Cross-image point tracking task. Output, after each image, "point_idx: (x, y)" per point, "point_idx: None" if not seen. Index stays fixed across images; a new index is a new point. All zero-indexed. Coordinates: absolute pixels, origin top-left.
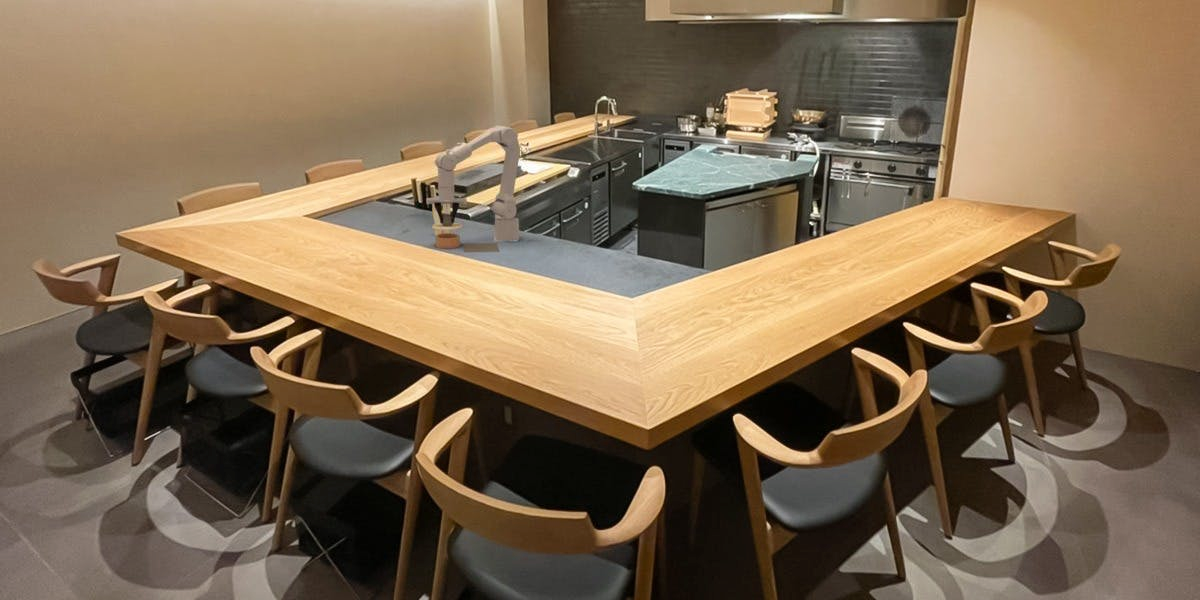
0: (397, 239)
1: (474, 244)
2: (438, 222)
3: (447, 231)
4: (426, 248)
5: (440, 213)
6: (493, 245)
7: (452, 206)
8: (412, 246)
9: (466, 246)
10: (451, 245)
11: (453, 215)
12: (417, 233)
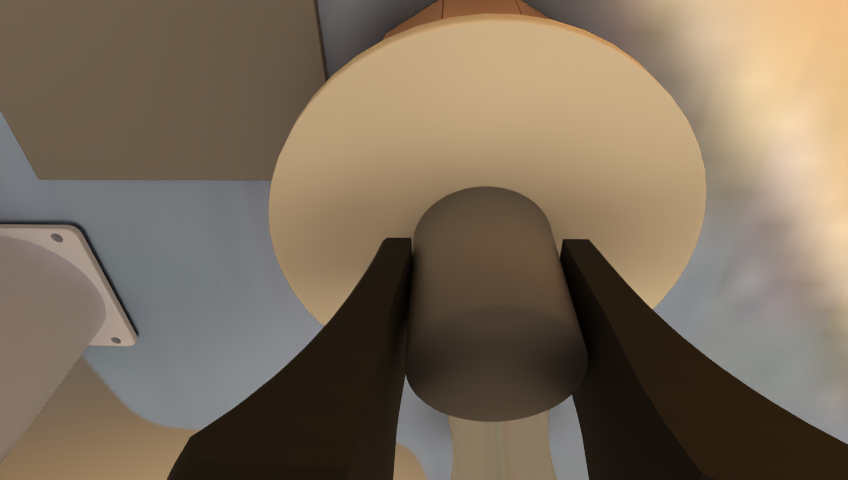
0: (839, 336)
1: (223, 141)
2: (535, 475)
3: None
4: (703, 39)
5: (647, 348)
6: (31, 97)
7: (346, 475)
8: (815, 128)
9: (286, 64)
10: (439, 8)
11: (370, 317)
12: None
